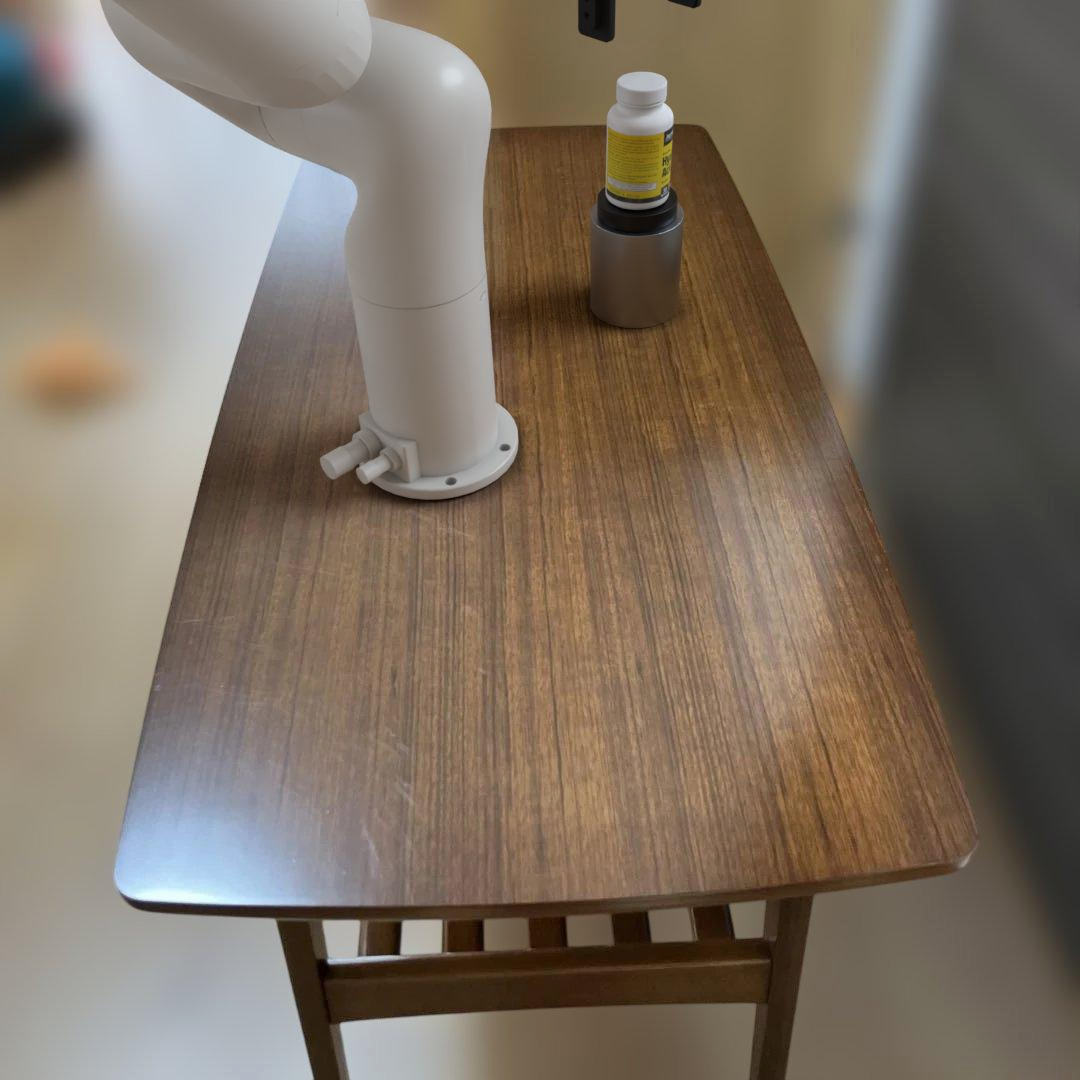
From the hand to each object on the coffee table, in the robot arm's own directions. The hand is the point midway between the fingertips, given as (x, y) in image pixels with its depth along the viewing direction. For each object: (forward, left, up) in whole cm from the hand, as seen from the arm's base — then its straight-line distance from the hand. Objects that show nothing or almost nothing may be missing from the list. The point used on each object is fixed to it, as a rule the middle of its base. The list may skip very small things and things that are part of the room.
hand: (640, 20), depth 85 cm
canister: (0, 0, -25) cm, 25 cm away
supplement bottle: (0, 0, -15) cm, 15 cm away
